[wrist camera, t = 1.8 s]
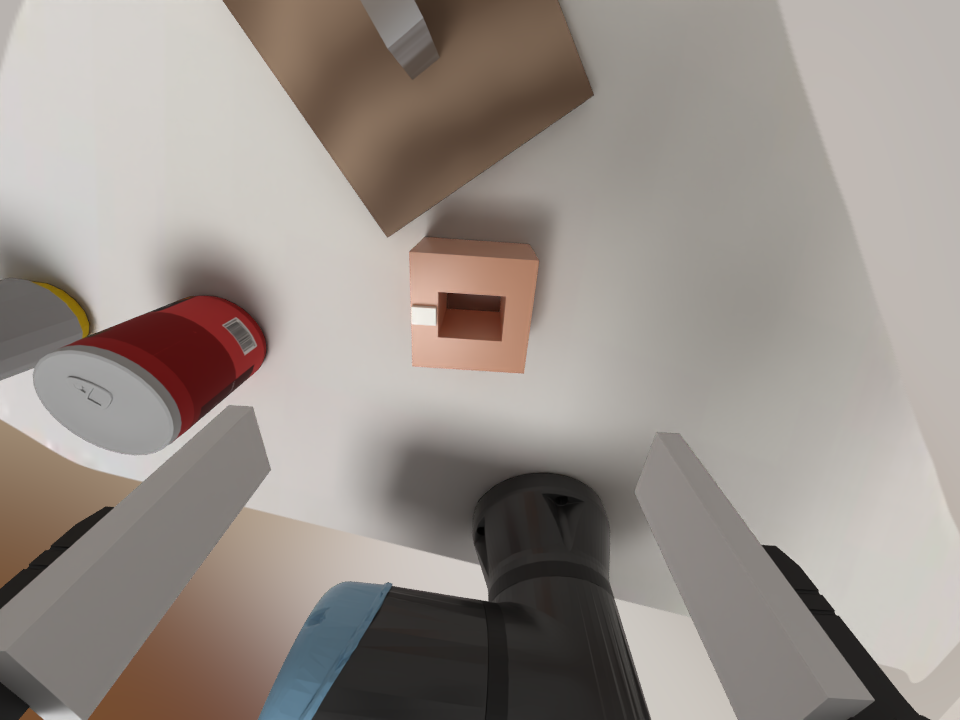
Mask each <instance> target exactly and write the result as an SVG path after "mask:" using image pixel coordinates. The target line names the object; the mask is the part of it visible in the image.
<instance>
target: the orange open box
mask: <svg viewBox="0 0 960 720" xmlns="http://www.w3.org/2000/svg"><path fill="white" fill-rule="evenodd" d="M409 262H410V297H411V331H412V366H415V367H431V368H446V369H462V370H477V371H492V372H508V373H523V374H524V368H525V361H526V353H527V346H528V339H529V332H530V324H531V317H532V310H533V302H534V295H535V288H536V280H537V273H538V266H539V259H538V258H537V256H536V254H535V253H534V251H533V249H532V248H531V246H530V244H521V243H507V242H492V241H478V240H463V239H448V238H434V237H424V238H423V239H422V240H421V241H420V242H419V243H418V244H417V245H416V246H415V247H414V248H413V249H412V250H411V251H410V252H409ZM447 293H462V294H477V295H492V296H501V300H500V311H499V312H494V311H479V310H464V309H449V308H447Z"/></svg>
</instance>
